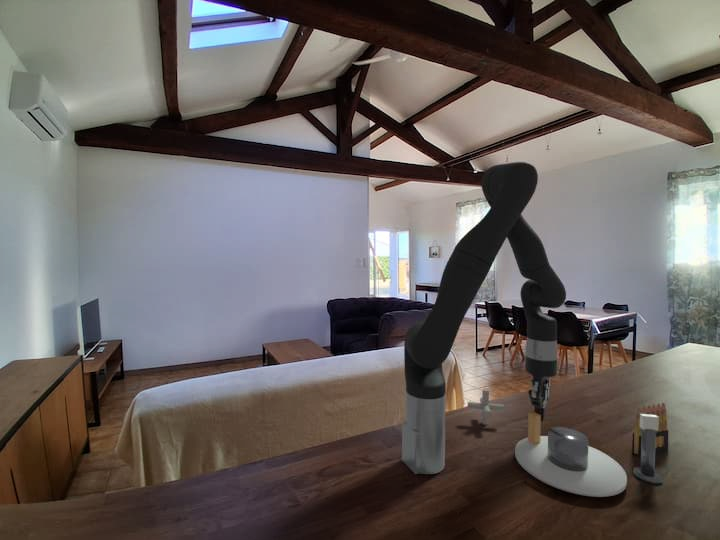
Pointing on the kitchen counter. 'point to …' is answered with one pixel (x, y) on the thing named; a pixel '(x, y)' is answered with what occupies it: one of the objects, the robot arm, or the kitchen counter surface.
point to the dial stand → (648, 450)
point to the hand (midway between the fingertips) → (539, 419)
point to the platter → (594, 481)
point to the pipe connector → (485, 406)
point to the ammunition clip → (660, 434)
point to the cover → (568, 449)
